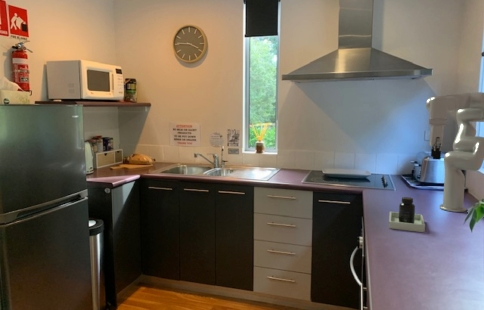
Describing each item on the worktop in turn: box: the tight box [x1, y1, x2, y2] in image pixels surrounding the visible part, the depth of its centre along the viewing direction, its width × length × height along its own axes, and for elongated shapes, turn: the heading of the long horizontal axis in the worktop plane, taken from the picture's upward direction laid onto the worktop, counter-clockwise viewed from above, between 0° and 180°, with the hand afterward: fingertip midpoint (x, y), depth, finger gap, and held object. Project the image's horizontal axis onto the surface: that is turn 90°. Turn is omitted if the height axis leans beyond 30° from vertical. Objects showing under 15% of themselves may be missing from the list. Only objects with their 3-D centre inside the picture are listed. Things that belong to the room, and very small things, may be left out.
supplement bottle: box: [398, 196, 416, 224], centre depth 170 cm, size 7×7×12 cm
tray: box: [388, 211, 426, 233], centre depth 171 cm, size 18×15×3 cm
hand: (435, 158), depth 176 cm, fingers open, 9 cm apart
